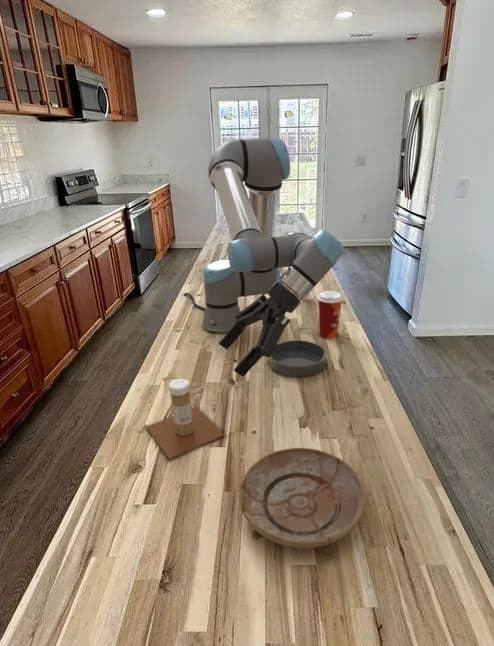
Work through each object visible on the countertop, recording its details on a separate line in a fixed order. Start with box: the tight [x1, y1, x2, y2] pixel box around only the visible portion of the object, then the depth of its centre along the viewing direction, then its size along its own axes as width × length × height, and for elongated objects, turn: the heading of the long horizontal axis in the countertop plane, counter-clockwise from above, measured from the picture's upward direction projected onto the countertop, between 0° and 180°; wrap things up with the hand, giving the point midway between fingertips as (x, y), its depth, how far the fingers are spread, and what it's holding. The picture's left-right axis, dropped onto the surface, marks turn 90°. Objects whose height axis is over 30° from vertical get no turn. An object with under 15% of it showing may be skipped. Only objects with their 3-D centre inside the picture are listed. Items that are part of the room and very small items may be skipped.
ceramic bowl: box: [238, 447, 366, 549], centre depth 83 cm, size 23×24×5 cm
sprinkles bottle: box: [168, 378, 194, 436], centre depth 103 cm, size 5×5×13 cm
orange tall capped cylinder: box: [317, 290, 343, 339], centre depth 149 cm, size 8×8×15 cm
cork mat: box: [146, 406, 225, 461], centre depth 106 cm, size 14×14×1 cm
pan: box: [269, 339, 326, 378], centre depth 134 cm, size 17×17×4 cm
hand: (230, 359), depth 102 cm, fingers open, 13 cm apart
